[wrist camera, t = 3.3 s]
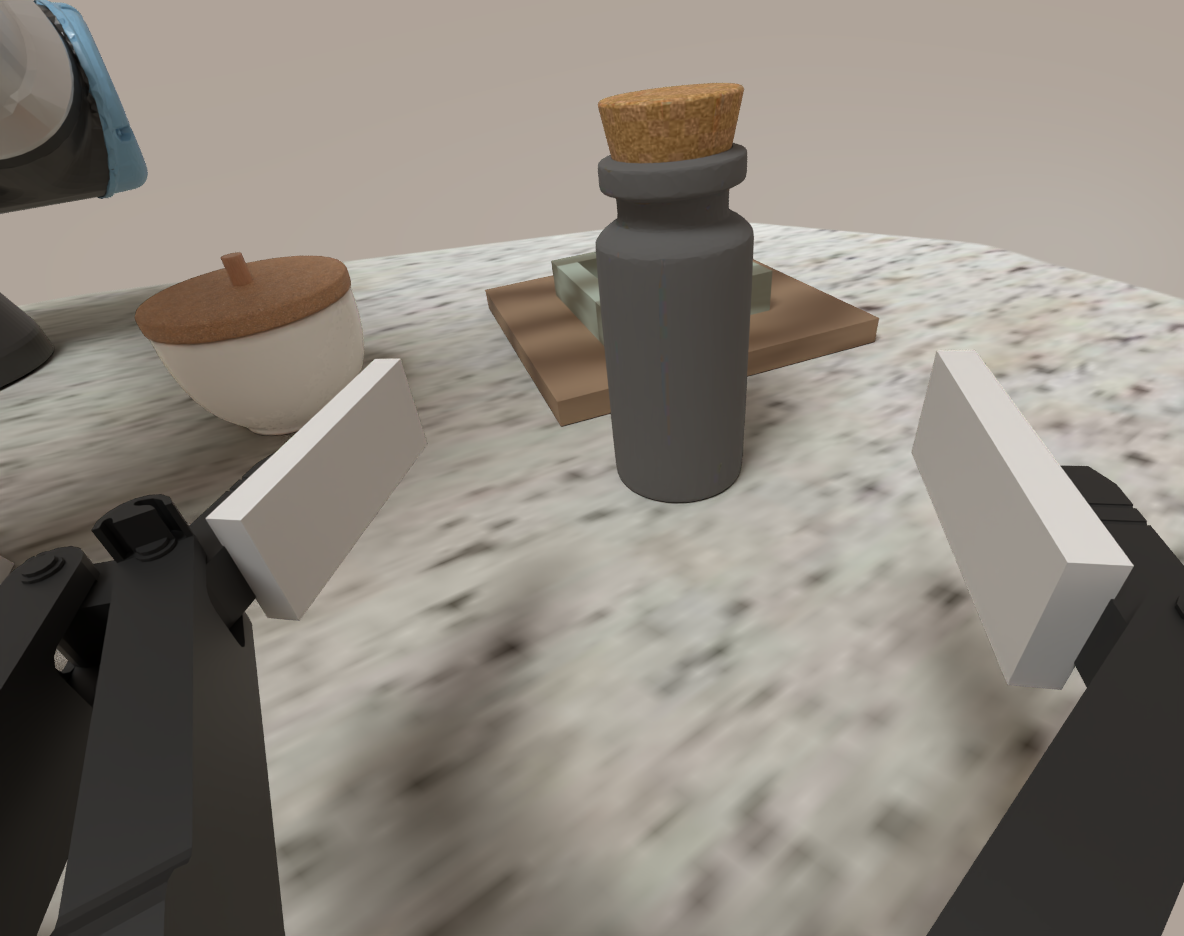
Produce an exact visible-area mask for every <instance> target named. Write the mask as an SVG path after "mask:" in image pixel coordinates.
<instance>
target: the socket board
mask: <svg viewBox="0 0 1184 936" xmlns="http://www.w3.org/2000/svg"><path fill="white" fill-rule="evenodd" d="M551 263H552V270H553V276H548V277H543V278H539V279H534V280H529V281H525V282H520V283H515V284H511V285H506V286H501V287H497V288H492V289H487V290H485V291H486V296H487V301H488V305H489V309H490V311H491V312H492V314H493V315H494V317H495V319H496V320H497V322H498V324H499V325H500V327H501V329H502V330H503V332H504V334H505V335H506V337H507V338H508V340H509V342H510V343H511V345H512V347H513V348H514V350H515V352H516V353H517V355H518V357H519V358H520V360H521V361H522V363H523V365H524V366H525V368H526V370H527V371H528V373H529V375H530V376H531V378H532V379H533V381H534V383H535V384H536V386H537V388H538V389H539V391H540V393H541V394H542V396H543V398H544V399H545V401H546V402H547V404H548V406H549V407H550V409H551V411H552V412H553V414H554V416H555V417H556V419H557V421H558V422H559V424H560V425H561V426H564V425H568V424H572V423H575V422H579V421H583V420H586V419H590V418H594V417H598V416H601V415H605V414H609V413H611V409H610V399H609V389H608V379H607V369H606V359H605V349H604V339H603V328H602V318H601V308H600V296H599V285H598V274H597V260H596V252H592V253H587V254H582V255H577V256H573V257H568V258H563V259H558V260H553V261H551ZM878 321H879V318H878V317H876V316H873V315H871V314H869V313H867V312H865V311H863V310H861V309H858V308H856V307H854V306H852V305H850V304H848V303H846V302H843V301H841V300H839V299H837V298H835V297H833V296H831V295H829V294H826V293H824V292H822V291H820V290H818V289H816V288H814V287H811V286H809V285H807V284H805V283H803V282H801V281H799V280H796V279H794V278H792V277H790V276H788V275H786V274H784V273H781V272H779V271H777V270H775V269H773V268H771V267H769V266H766V265H764V264H762V263H760V262H758V261H756V260H754V259H753V273H752V294H751V313H750V332H749V350H748V369H747V376H749V375H753V374H757V373H761V372H764V371H768V370H772V369H775V368H779V367H783V366H786V365H790V364H794V363H798V362H801V361H805V360H809V359H812V358H816V357H820V356H823V355H827V354H831V353H835V352H838V351H842V350H846V349H849V348H853V347H857V346H861V345H864V344H868V343H872V342H875V337H876V332H877V326H878Z"/></svg>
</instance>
